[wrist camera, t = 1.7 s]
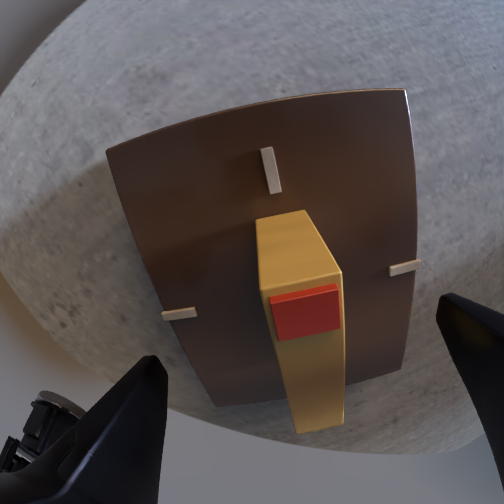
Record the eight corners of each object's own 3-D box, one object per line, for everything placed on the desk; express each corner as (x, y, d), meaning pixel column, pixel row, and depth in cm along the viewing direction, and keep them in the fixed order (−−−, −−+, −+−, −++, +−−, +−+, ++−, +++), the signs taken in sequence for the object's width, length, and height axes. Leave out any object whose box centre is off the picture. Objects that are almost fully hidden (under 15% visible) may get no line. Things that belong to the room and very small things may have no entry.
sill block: (384, 333, 15) (403, 371, 12) (217, 367, 16) (213, 410, 13) (373, 94, 10) (411, 87, 7) (134, 143, 11) (99, 151, 8)
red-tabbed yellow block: (322, 346, 11) (345, 430, 7) (285, 353, 11) (296, 440, 8) (305, 208, 9) (346, 278, 5) (254, 219, 9) (258, 296, 5)
